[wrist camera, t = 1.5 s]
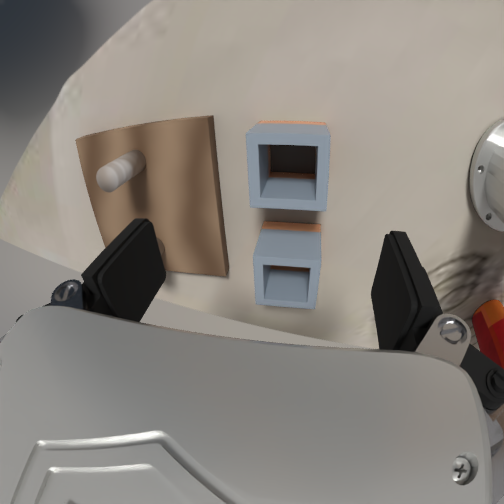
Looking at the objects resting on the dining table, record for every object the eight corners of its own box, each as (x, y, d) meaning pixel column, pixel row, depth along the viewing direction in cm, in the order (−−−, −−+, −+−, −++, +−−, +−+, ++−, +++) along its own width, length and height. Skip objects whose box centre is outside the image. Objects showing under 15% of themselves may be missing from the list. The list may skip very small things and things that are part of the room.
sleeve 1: (325, 122, 22) (330, 135, 17) (323, 182, 25) (326, 211, 20) (260, 121, 23) (245, 133, 18) (262, 179, 26) (250, 207, 21)
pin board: (213, 115, 23) (183, 128, 18) (229, 268, 33) (212, 308, 27) (83, 136, 26) (44, 154, 21) (117, 257, 35) (91, 288, 30)
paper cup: (478, 336, 32) (501, 411, 20) (457, 321, 31) (482, 406, 20) (513, 304, 27) (545, 378, 16) (495, 285, 26) (534, 369, 15)
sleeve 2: (320, 224, 27) (321, 260, 22) (316, 269, 30) (314, 309, 26) (264, 221, 28) (252, 255, 23) (265, 266, 31) (255, 304, 27)
